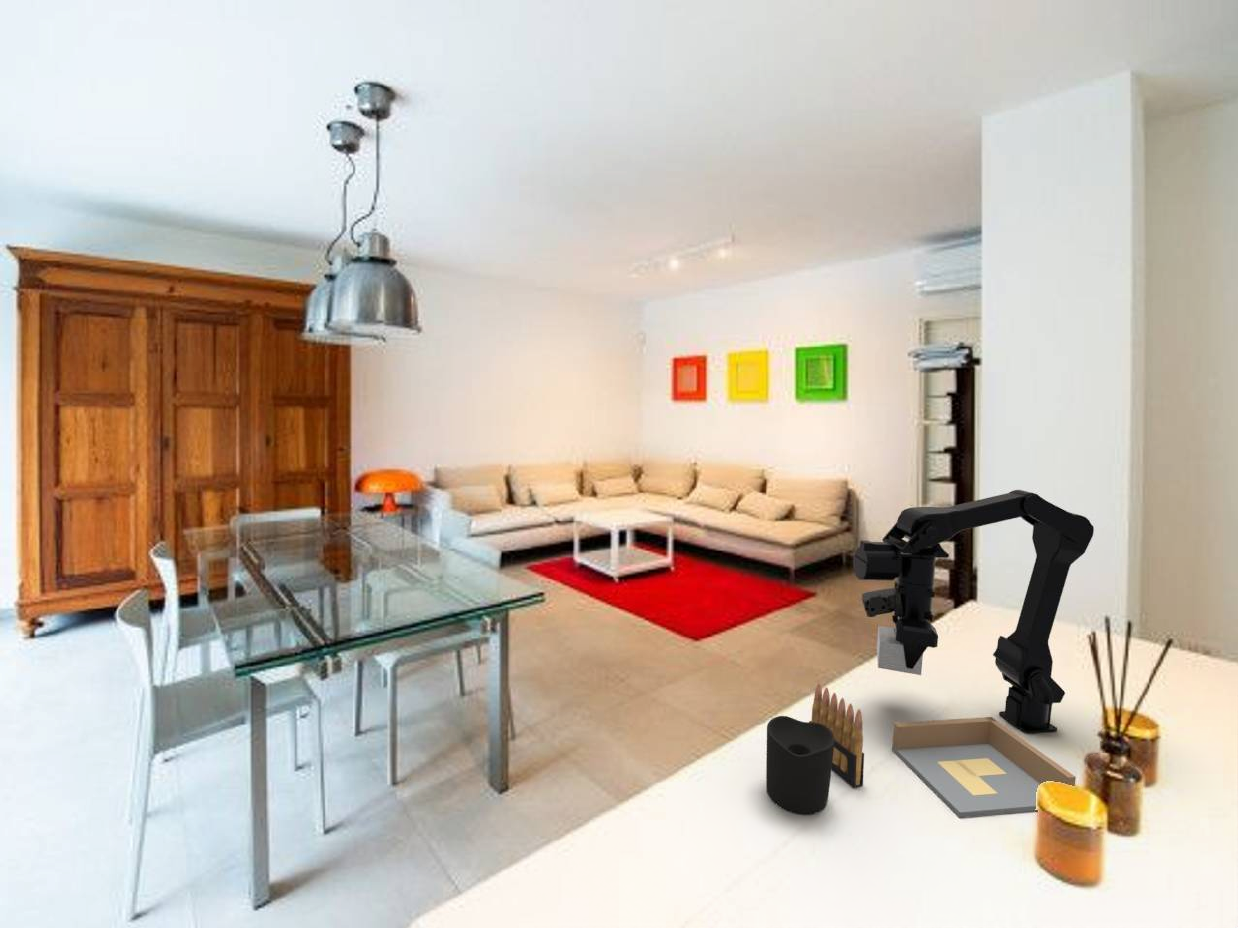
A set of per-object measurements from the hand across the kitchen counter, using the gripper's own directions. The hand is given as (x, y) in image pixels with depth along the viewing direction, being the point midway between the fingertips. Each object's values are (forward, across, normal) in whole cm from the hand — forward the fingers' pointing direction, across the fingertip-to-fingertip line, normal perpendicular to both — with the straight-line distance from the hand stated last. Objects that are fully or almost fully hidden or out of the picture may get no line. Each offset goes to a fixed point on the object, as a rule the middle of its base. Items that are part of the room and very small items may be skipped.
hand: (908, 663), depth 106 cm
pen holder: (+11, +29, -16) cm, 35 cm away
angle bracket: (+1, -2, -2) cm, 3 cm away
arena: (+11, +13, +9) cm, 19 cm away
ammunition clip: (+11, +19, -11) cm, 25 cm away
